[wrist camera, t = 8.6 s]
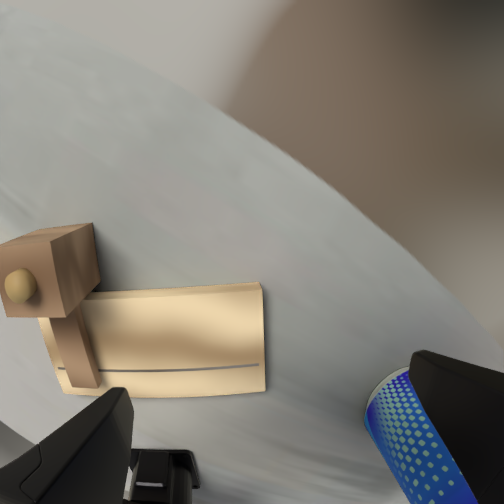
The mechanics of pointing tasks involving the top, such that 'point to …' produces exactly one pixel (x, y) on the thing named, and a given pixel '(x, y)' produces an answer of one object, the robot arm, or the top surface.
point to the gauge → (55, 290)
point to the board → (172, 341)
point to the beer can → (413, 445)
